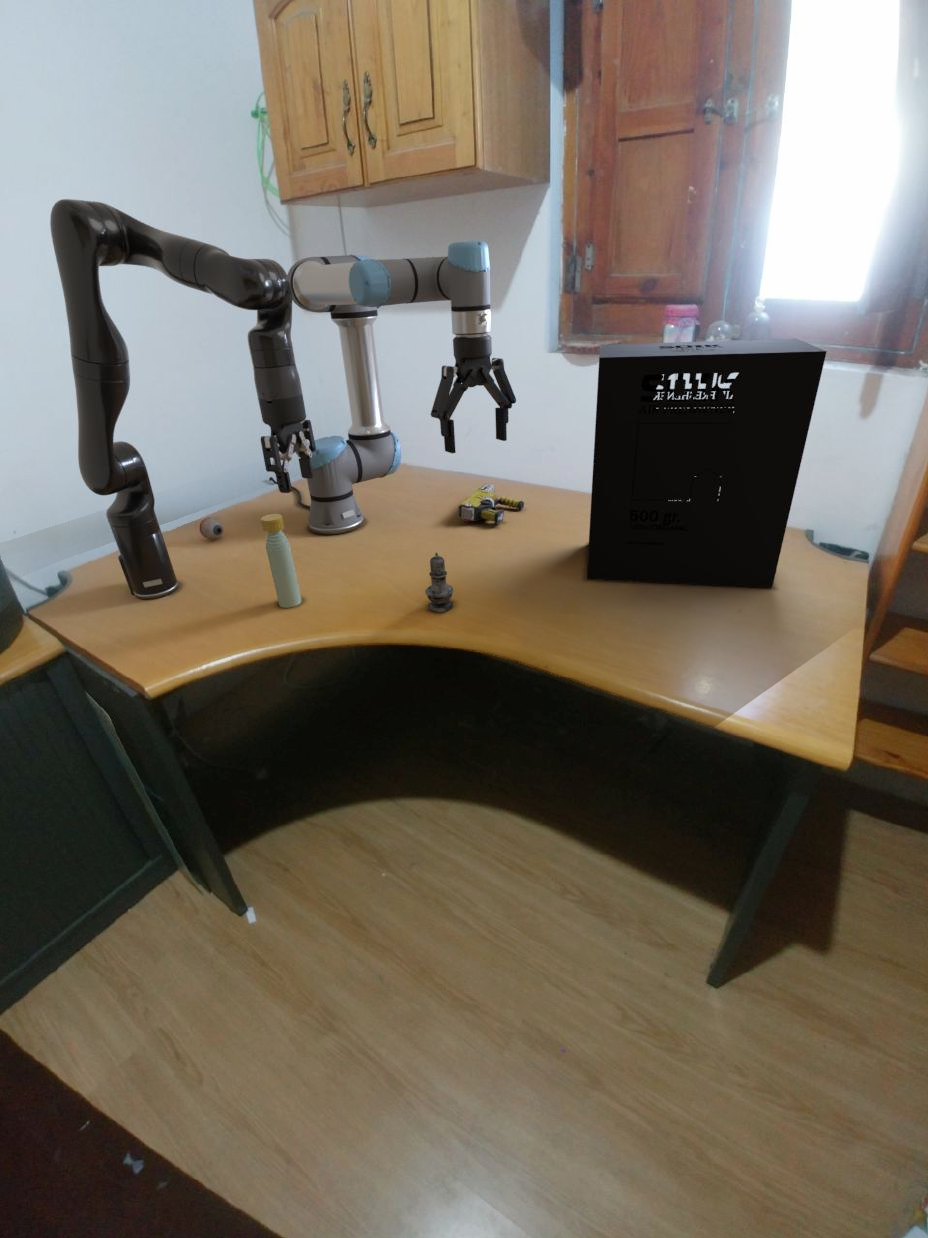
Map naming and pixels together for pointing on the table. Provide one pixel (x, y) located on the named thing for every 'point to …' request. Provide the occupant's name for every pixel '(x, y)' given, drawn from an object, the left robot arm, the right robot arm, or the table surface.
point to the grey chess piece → (439, 586)
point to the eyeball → (211, 528)
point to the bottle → (282, 569)
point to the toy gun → (486, 505)
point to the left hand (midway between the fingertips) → (297, 484)
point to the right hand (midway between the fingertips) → (476, 445)
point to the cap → (272, 523)
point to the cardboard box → (698, 459)
